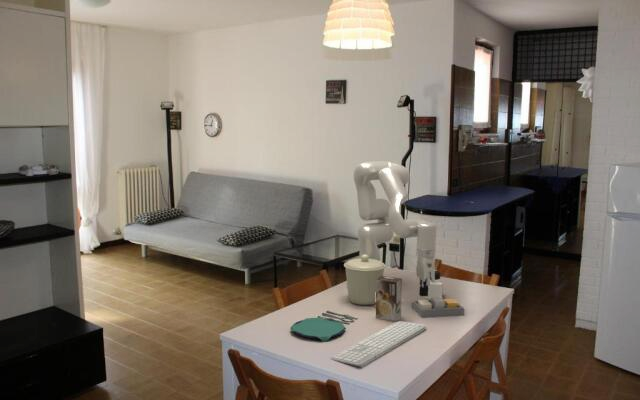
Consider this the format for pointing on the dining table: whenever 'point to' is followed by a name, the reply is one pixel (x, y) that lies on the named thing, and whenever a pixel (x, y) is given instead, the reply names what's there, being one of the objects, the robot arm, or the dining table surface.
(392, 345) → the keyboard
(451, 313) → the keypad frame
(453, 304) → the yellow rectangular block
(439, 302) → the key grey
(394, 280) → the coffee box
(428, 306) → the key cream
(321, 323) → the cutlery set
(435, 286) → the medicine bottle
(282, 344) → the dining table surface
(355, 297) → the canister
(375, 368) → the dining table surface
